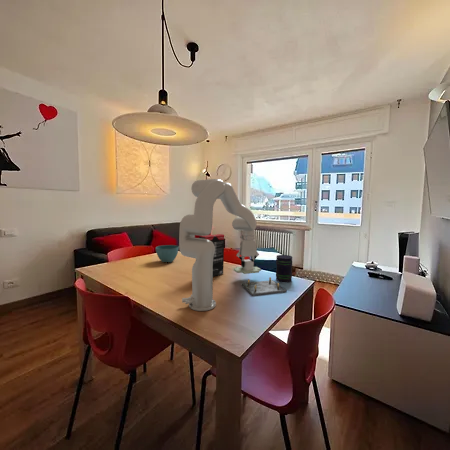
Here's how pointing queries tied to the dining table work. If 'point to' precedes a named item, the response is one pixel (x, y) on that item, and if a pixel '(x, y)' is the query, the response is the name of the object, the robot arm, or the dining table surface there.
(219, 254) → the graphics card box
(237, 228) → the robot arm
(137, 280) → the dining table surface
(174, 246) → the teal bowl
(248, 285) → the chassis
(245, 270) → the board
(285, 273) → the storage jar
